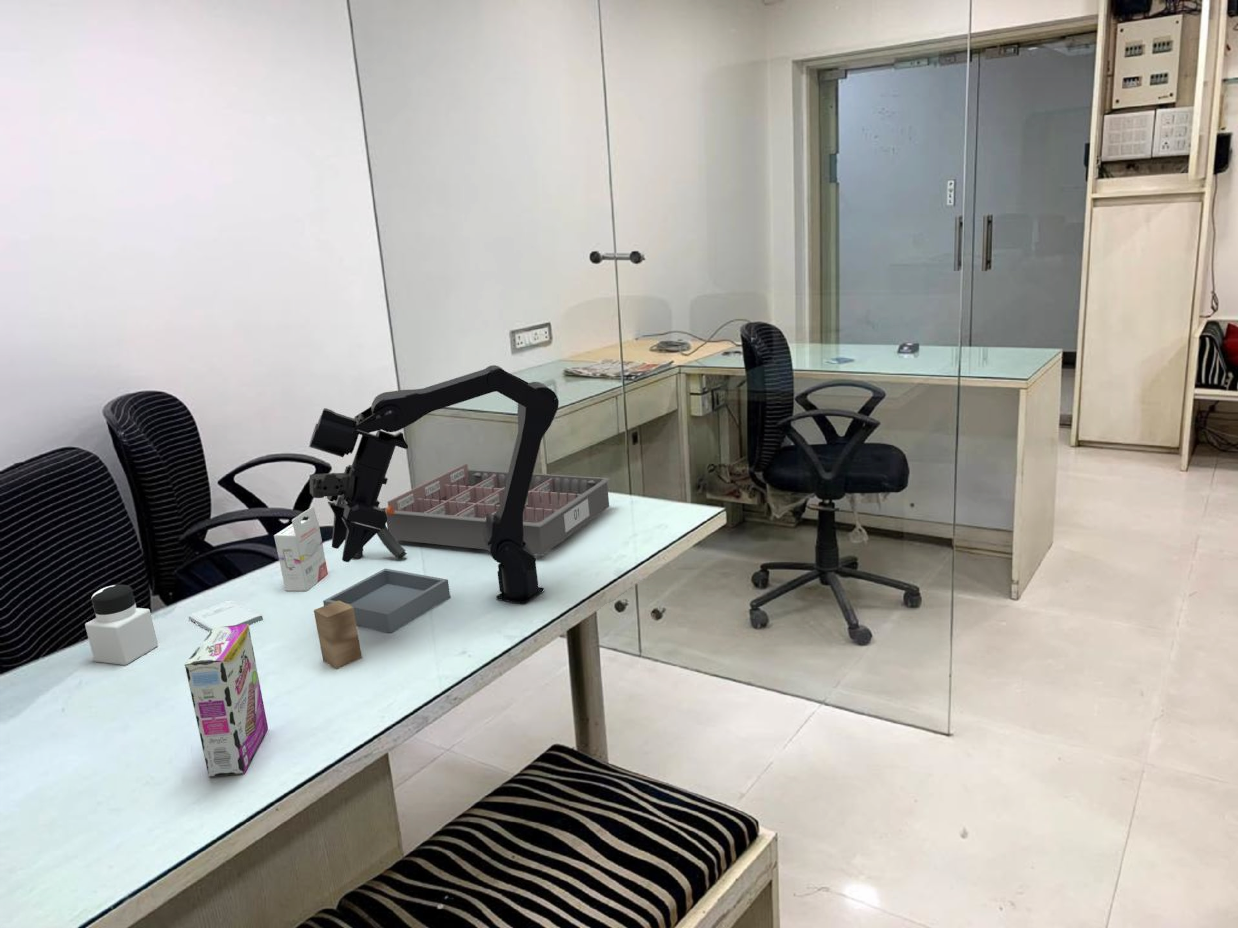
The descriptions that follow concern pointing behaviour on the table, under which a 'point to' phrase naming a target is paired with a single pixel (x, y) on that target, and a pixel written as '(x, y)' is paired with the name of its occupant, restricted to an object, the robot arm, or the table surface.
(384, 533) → the hand grip strengthener
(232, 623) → the white power bank
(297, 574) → the ink cartridge box
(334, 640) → the walnut block
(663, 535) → the table surface
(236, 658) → the candy bar box
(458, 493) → the organizer tray
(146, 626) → the medicine bottle
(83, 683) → the table surface
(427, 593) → the charcoal bin
